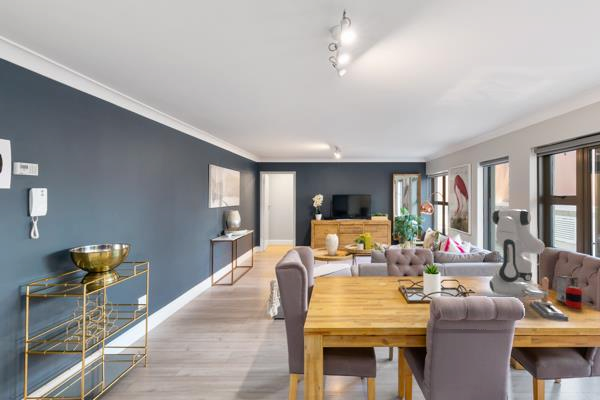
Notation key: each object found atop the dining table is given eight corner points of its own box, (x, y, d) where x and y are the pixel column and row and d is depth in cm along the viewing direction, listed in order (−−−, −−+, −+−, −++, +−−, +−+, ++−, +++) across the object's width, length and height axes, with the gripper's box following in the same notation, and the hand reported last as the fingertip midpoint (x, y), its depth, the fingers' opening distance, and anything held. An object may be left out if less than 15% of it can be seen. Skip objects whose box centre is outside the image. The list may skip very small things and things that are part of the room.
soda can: (564, 306, 196) (565, 287, 196) (566, 303, 201) (566, 284, 201) (580, 309, 191) (581, 290, 191) (581, 306, 196) (582, 287, 196)
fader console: (529, 304, 197) (530, 299, 197) (550, 307, 194) (551, 301, 194) (544, 317, 177) (544, 311, 177) (568, 320, 173) (568, 314, 173)
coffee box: (567, 298, 210) (568, 275, 210) (577, 302, 204) (578, 277, 204) (556, 299, 209) (556, 275, 208) (566, 302, 202) (566, 278, 202)
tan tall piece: (536, 303, 193) (537, 276, 193) (548, 305, 191) (549, 277, 191) (539, 306, 189) (540, 278, 188) (552, 307, 186) (553, 279, 186)
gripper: (526, 288, 184) (554, 291, 180) (514, 279, 203) (540, 282, 199) (525, 299, 184) (554, 302, 180) (514, 289, 204) (539, 292, 199)
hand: (546, 291), depth 189 cm, fingers closed on tan tall piece, 3 cm apart
